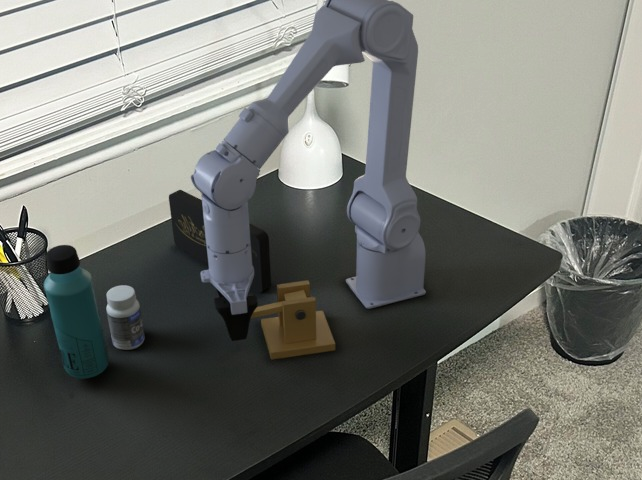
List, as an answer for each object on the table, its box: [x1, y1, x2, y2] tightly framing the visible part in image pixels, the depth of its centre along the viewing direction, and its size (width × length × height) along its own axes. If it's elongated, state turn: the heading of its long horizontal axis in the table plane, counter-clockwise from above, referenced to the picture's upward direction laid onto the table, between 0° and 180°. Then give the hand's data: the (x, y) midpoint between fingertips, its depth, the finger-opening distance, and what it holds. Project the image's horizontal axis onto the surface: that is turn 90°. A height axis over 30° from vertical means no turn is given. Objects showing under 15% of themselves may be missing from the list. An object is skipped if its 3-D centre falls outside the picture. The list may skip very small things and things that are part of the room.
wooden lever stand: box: [260, 279, 336, 360], centre depth 127 cm, size 9×8×8 cm
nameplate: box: [168, 189, 272, 293], centre depth 142 cm, size 21×2×10 cm, turn 41°
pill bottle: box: [105, 284, 146, 351], centre depth 129 cm, size 5×5×8 cm
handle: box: [250, 290, 307, 320], centre depth 125 cm, size 11×5×2 cm, turn 96°
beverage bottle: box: [43, 244, 110, 379], centre depth 121 cm, size 6×7×20 cm
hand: (235, 326), depth 127 cm, fingers closed on handle, 5 cm apart
